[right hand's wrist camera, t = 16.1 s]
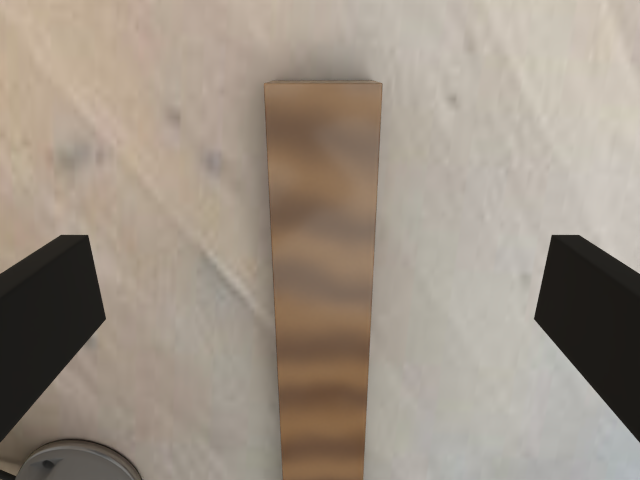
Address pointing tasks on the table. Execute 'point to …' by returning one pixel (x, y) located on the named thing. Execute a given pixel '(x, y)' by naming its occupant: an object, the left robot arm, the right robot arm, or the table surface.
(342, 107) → the wide beam
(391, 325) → the table surface
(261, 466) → the table surface
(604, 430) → the table surface
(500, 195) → the table surface
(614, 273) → the right robot arm
